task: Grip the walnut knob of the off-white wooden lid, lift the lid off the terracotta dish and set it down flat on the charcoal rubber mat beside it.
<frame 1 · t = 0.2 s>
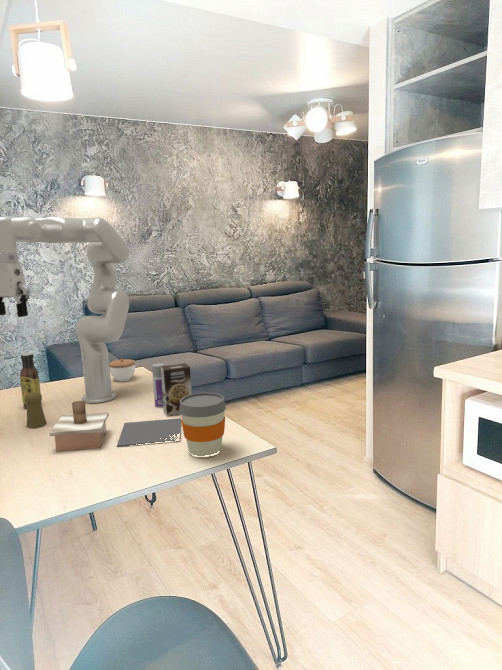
hand: (11, 315, 150), 37 cm above the table, tool pointing down, fingers open, 9 cm apart
reusable coffee cup: (205, 451, 136), on the table
sauce bottle: (33, 407, 179), on the table
lid: (80, 425, 145), point 5 cm above the table, touching dish
mat: (151, 432, 150), on the table
container: (161, 405, 175), on the table
cork: (36, 425, 160), on the table
dish: (82, 440, 146), on the table
lidded jar: (123, 380, 210), on the table
coffee box: (178, 412, 168), on the table
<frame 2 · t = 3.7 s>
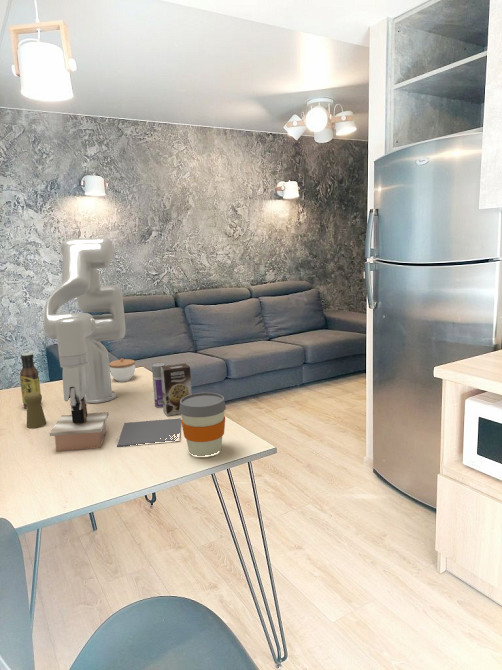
hand: (80, 419, 145), 7 cm above the table, tool pointing down, fingers closed on lid, 3 cm apart
lid: (80, 425, 145), point 5 cm above the table, touching dish, gripper
everything else where it was.
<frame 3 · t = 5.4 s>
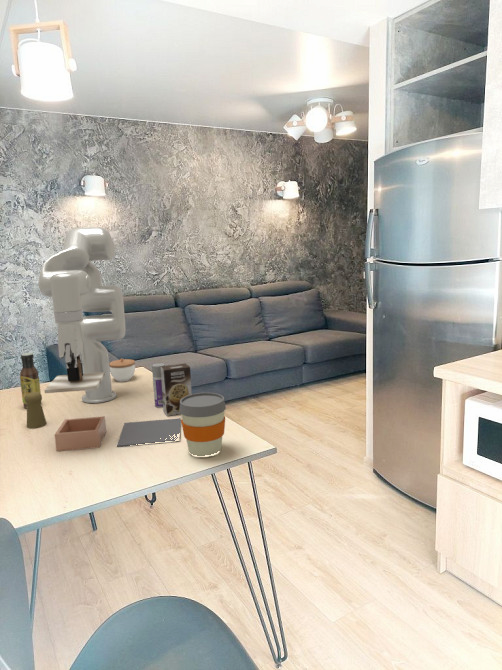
hand: (75, 378, 142), 19 cm above the table, tool pointing down, fingers closed on lid, 3 cm apart
lid: (76, 383, 143), point 18 cm above the table, touching gripper
everything else where it was.
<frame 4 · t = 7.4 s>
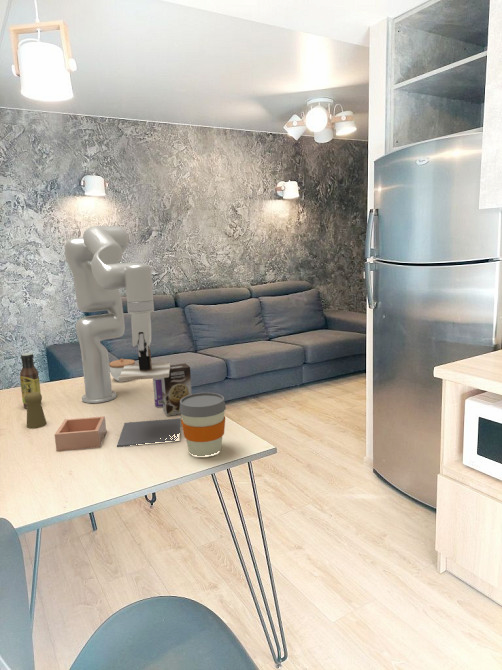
hand: (145, 366, 146), 21 cm above the table, tool pointing down, fingers closed on lid, 3 cm apart
lid: (146, 372, 147), point 19 cm above the table, touching gripper
everything else where it was.
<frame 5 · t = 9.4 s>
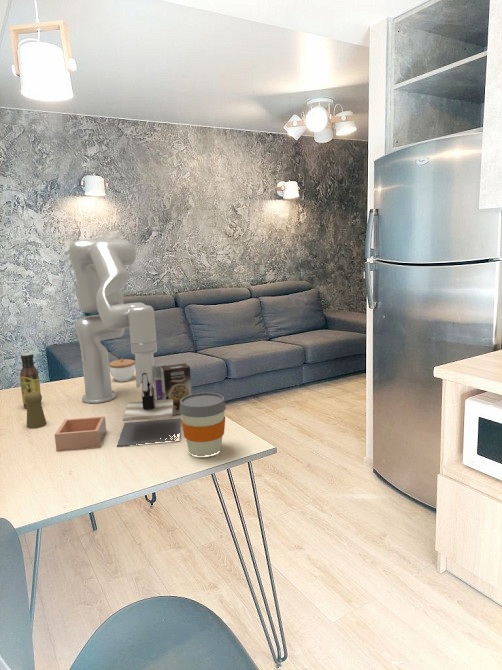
hand: (149, 405, 148), 9 cm above the table, tool pointing down, fingers closed on lid, 3 cm apart
lid: (149, 411, 149), point 7 cm above the table, touching gripper
everything else where it was.
when the fingers open (4 cm above the table, at t = 11.2 s): lid drops 1 cm, resting on mat.
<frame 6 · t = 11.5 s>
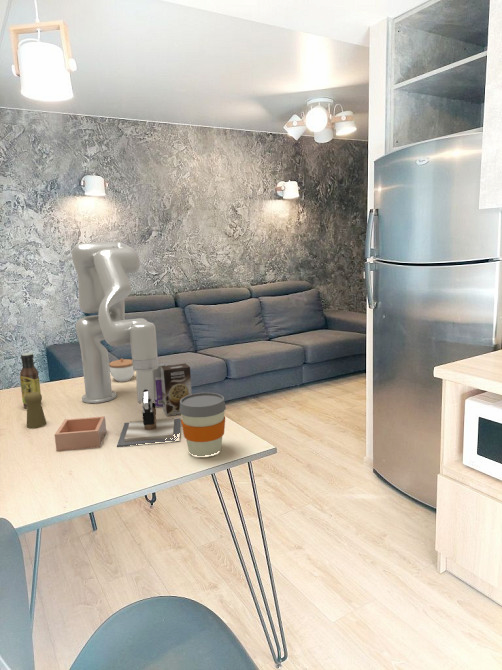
hand: (149, 419, 149), 4 cm above the table, tool pointing down, fingers open, 7 cm apart
lid: (150, 430, 150), resting on mat
everything else where it was.
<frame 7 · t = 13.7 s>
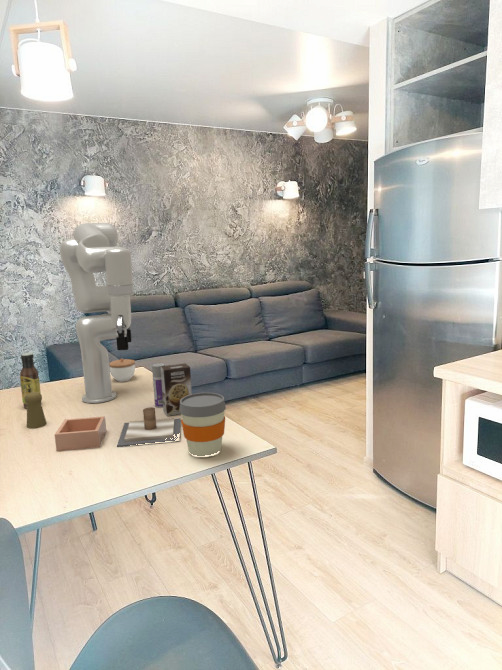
hand: (124, 345, 150), 27 cm above the table, tool pointing down, fingers open, 9 cm apart
nothing on the table moved.
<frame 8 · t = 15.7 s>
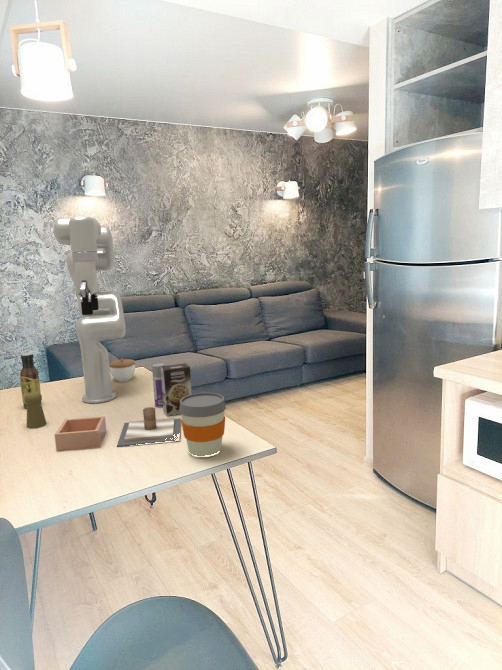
hand: (90, 312, 155), 36 cm above the table, tool pointing down, fingers open, 9 cm apart
nothing on the table moved.
at the end: lid inside the target area on the mat (0.1 cm from its centre), point 0.5 cm above the mat's base; lid tilted 0°; lid touching mat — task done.
